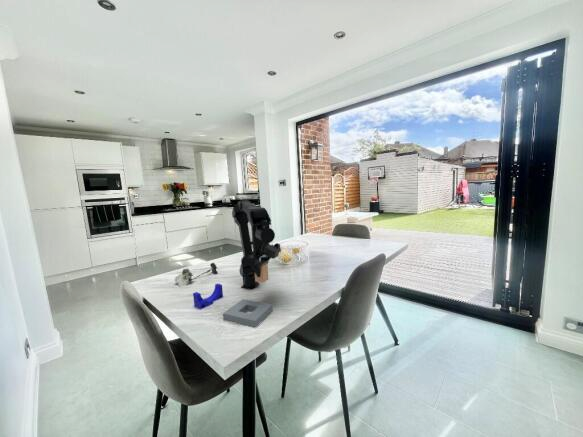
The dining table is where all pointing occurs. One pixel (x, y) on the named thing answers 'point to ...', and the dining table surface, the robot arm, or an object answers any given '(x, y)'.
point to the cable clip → (208, 301)
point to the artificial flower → (190, 275)
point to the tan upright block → (262, 273)
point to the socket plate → (248, 319)
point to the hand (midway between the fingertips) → (261, 275)
